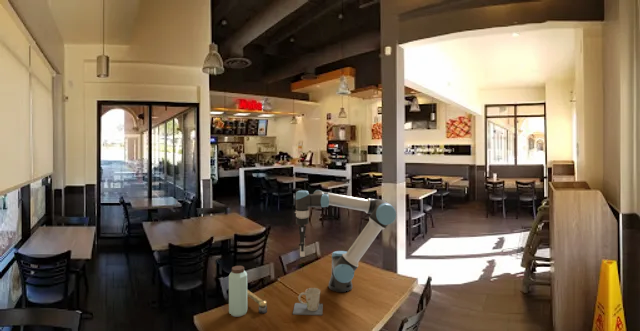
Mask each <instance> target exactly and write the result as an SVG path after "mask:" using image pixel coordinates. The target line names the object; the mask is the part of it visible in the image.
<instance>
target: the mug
mask: <svg viewBox="0 0 640 331" xmlns="http://www.w3.org/2000/svg"><path fill="white" fill-rule="evenodd" d="M302 296H305V300H306V302H304V301H302V298H301V297H302ZM297 298H298V302H299V303H302V304H307V309H308V310H309V311H316V310H318V306H319V304H320V298H321V289H319V288H317V287H309V288H306V289H305V291H304V292H300V293H299V294H298V297H297Z"/></svg>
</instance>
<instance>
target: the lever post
mask: <svg viewBox="0 0 640 331" xmlns="http://www.w3.org/2000/svg"><path fill="white" fill-rule="evenodd" d="M258 313H259V314H261V315H263V314H267V313H268V306H266V307H263V308H262V307H259V306H258Z"/></svg>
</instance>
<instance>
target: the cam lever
mask: <svg viewBox="0 0 640 331" xmlns="http://www.w3.org/2000/svg"><path fill="white" fill-rule="evenodd" d="M247 297H249V298H250V299H251V300H253V302H255V303H257V304H258V308H259V307H262V308H263V307H266V306H267V304H268V302H267V300H266V299H265V300H263V299H262V298H260V297H259V296H257V295H256V294H255V293H253V291H252V292H251V291H250V290H249V289H247ZM267 307H268V306H267Z"/></svg>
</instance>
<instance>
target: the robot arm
mask: <svg viewBox="0 0 640 331" xmlns="http://www.w3.org/2000/svg"><path fill="white" fill-rule="evenodd" d="M329 206H333V207H338V208H344V209H350V210H355V211H361V212H365V213H366V214H369V216H368V219H369V221H368V222H367V224H366V225H365V226H364V228H363V229H362V231H361V232H360V233H359V235H358V236H357V238H356V239H355V240H354V242H353V243H352V244H351V246H350V248H349V249H348V250H347V251H345V250H336V251H333V252H332V253H331V274H330V278H329V280H328V288H329V290H331V291H333V292H335V291H336V293H347V292H350V291H352V289H353V283H352V282H353V281H352V280H353V279H354V277H355V272H356V270H357V269H358V268H359V262H360V261H361V259H362V257H363V256H364V255H365V253H366V252H367V251H368V249H369V248H370V246H371V245H372V243H373V242H374V241H375V239H376V238H377V236H378V235H379V233H380V232H381V231H382V230H385V229H387V227H388V226H389V225H391V224H393V223H394V222H395V221H396V218H397V211H396V209H395V206H393V205H392V204H391V203H389V202H388V201H387V200H385V199H379V198H378V199H376V198H370V197H368V198H367V199H365V198H362V197H356V196H355V197H354V196H350V195H344V194H338V193H333V192H327V191H323V190H320V189H316V190H315V191H314V192H312V193H309V191H308V190H304V189H303V190H302V189H301V190H298V191H296V192H295V211H294V214H295V224H296V225H299V226H298V231H299V238H300V239H299V244H298V246H299V257H302V258H303V257H305V256H306V253H305V252H306V241H305V240H306V238H307V236H306V229H307V228H306V227H307V226H306V225H309V224H310V223H309V222H310V220H309V215H310V212H309V211H310V210H309V208H327V207H329ZM349 290H350V291H349ZM346 291H347V292H346Z"/></svg>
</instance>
